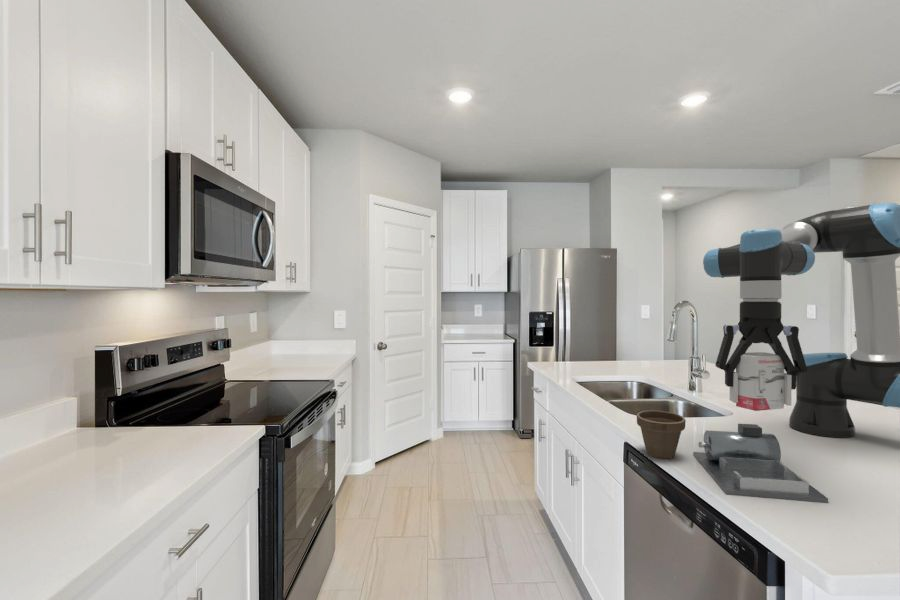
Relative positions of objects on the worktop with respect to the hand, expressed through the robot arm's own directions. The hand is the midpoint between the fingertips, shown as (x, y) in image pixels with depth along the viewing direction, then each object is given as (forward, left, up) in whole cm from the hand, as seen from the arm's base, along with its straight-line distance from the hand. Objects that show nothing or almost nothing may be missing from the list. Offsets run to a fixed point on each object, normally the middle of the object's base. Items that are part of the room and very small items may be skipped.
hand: (759, 402), depth 98 cm
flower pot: (+17, -13, -18) cm, 28 cm away
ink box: (0, 0, -1) cm, 1 cm away
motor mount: (0, -3, -17) cm, 18 cm away
